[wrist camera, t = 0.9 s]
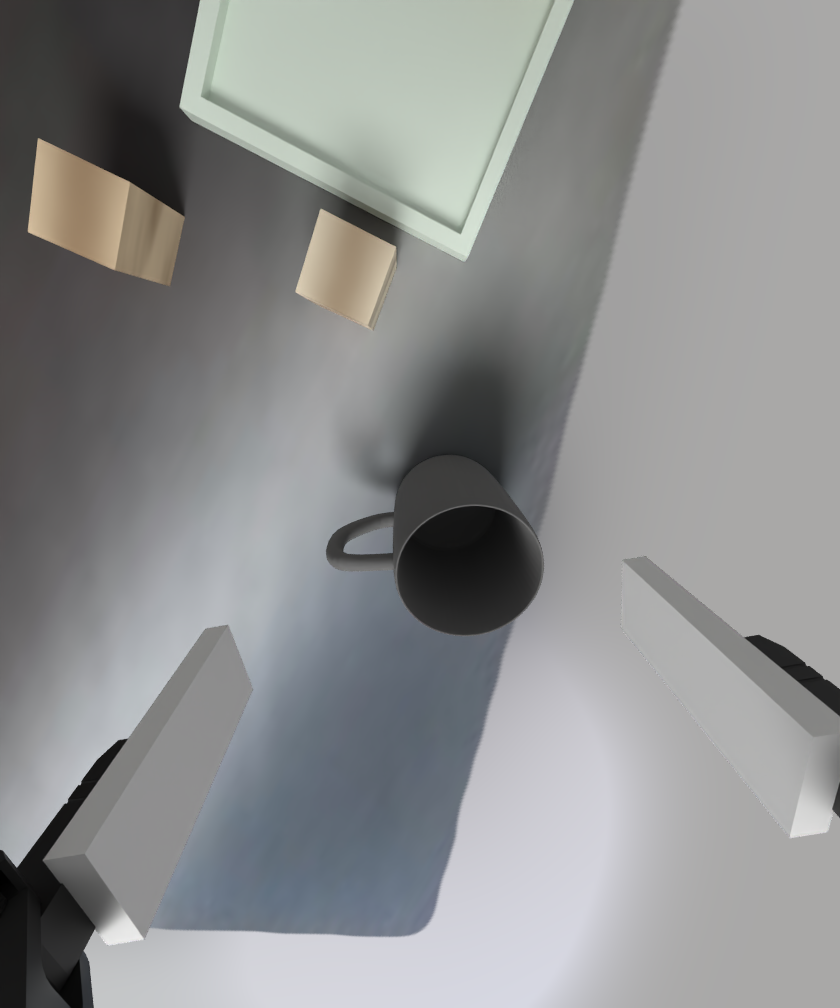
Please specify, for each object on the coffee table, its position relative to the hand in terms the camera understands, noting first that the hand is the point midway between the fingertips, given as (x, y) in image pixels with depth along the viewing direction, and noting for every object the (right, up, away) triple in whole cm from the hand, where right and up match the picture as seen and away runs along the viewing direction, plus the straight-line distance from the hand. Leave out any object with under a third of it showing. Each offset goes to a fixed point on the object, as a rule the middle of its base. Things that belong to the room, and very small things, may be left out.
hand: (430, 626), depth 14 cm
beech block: (-5, +20, +16) cm, 26 cm away
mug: (0, +4, +22) cm, 22 cm away
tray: (-2, +34, +11) cm, 35 cm away
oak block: (-19, +22, +14) cm, 32 cm away
